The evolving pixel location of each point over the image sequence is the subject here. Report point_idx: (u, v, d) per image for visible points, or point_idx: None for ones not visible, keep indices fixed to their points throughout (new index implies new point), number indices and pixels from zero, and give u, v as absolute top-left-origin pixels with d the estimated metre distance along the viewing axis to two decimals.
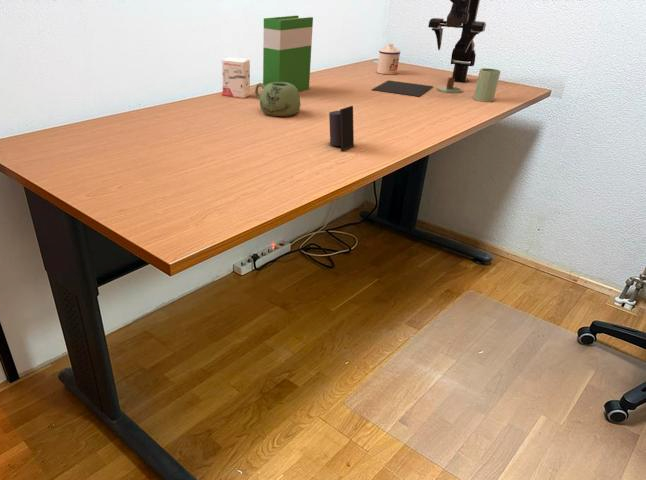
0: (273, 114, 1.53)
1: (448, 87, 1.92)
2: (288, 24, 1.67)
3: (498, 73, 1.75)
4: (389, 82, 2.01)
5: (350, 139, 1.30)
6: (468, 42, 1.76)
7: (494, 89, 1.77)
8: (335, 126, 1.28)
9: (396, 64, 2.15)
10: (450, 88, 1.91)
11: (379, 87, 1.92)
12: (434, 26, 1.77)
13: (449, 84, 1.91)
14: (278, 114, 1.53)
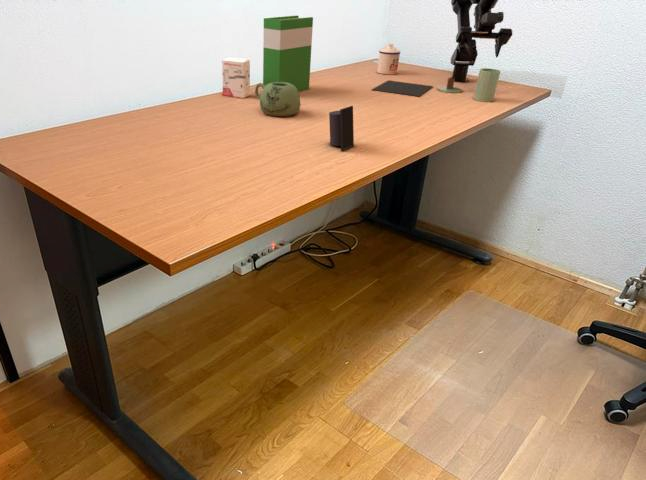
0: (273, 114, 1.53)
1: (448, 87, 1.92)
2: (288, 24, 1.67)
3: (498, 73, 1.75)
4: (389, 82, 2.01)
5: (350, 139, 1.30)
6: (500, 46, 1.81)
7: (494, 89, 1.77)
8: (335, 126, 1.28)
9: (396, 64, 2.15)
10: (450, 88, 1.91)
11: (379, 87, 1.92)
12: (467, 30, 1.80)
13: (449, 84, 1.91)
14: (278, 114, 1.53)
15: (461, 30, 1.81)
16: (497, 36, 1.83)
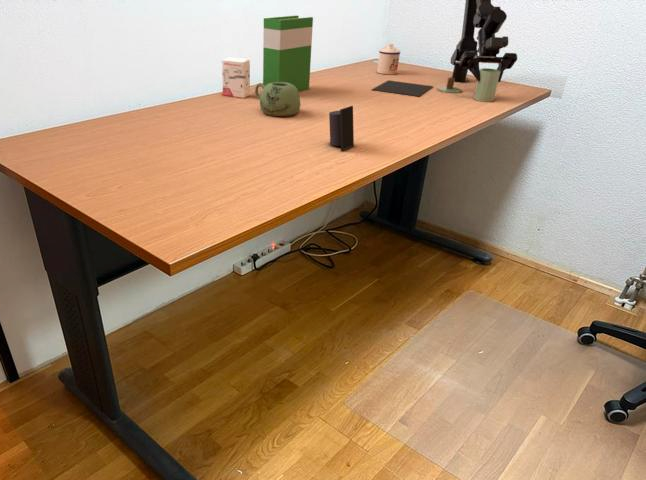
0: (273, 114, 1.53)
1: (448, 87, 1.92)
2: (288, 24, 1.67)
3: (498, 73, 1.75)
4: (389, 82, 2.01)
5: (350, 139, 1.30)
6: (502, 70, 1.77)
7: (494, 89, 1.77)
8: (335, 126, 1.28)
9: (396, 64, 2.15)
10: (450, 88, 1.91)
11: (379, 87, 1.92)
12: (471, 55, 1.76)
13: (449, 84, 1.91)
14: (278, 114, 1.53)
15: (465, 55, 1.76)
16: (499, 60, 1.79)
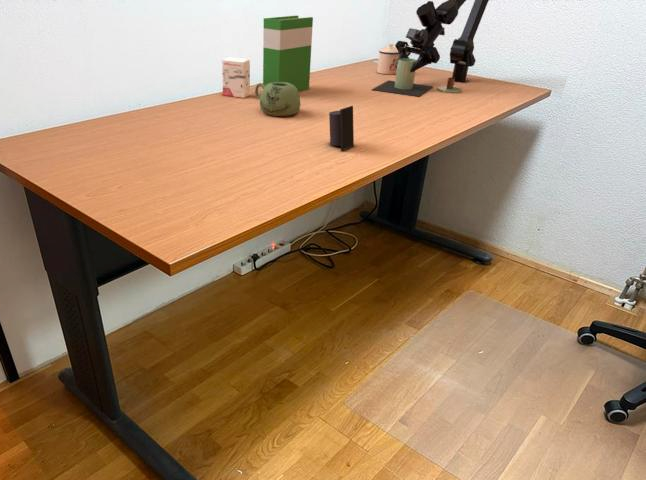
0: (273, 114, 1.53)
1: (448, 87, 1.92)
2: (288, 24, 1.67)
3: (406, 62, 1.86)
4: (389, 82, 2.01)
5: (350, 139, 1.30)
6: (416, 61, 1.85)
7: (404, 77, 1.88)
8: (335, 126, 1.28)
9: None
10: (450, 88, 1.91)
11: (379, 87, 1.92)
12: (399, 44, 1.92)
13: (449, 84, 1.91)
14: (278, 114, 1.53)
15: (396, 43, 1.93)
16: None
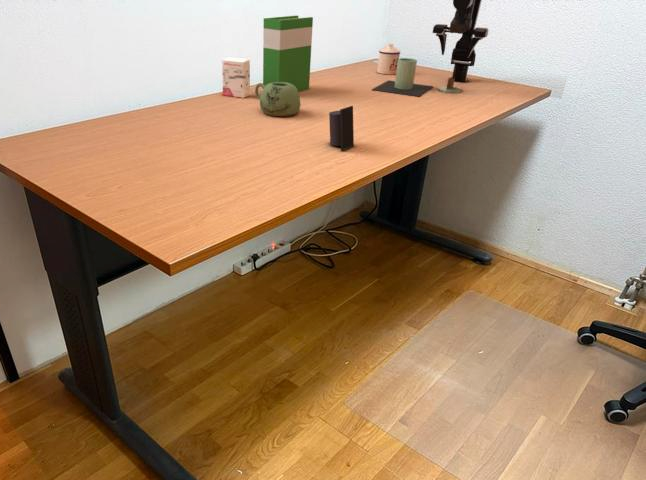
0: (273, 114, 1.53)
1: (448, 87, 1.92)
2: (288, 24, 1.67)
3: (406, 62, 1.86)
4: (389, 82, 2.01)
5: (350, 139, 1.30)
6: (471, 47, 1.82)
7: (404, 77, 1.88)
8: (335, 126, 1.28)
9: (396, 64, 2.15)
10: (450, 88, 1.91)
11: (379, 87, 1.92)
12: (438, 32, 1.83)
13: (449, 84, 1.91)
14: (278, 114, 1.53)
15: (433, 30, 1.84)
16: (473, 33, 1.80)
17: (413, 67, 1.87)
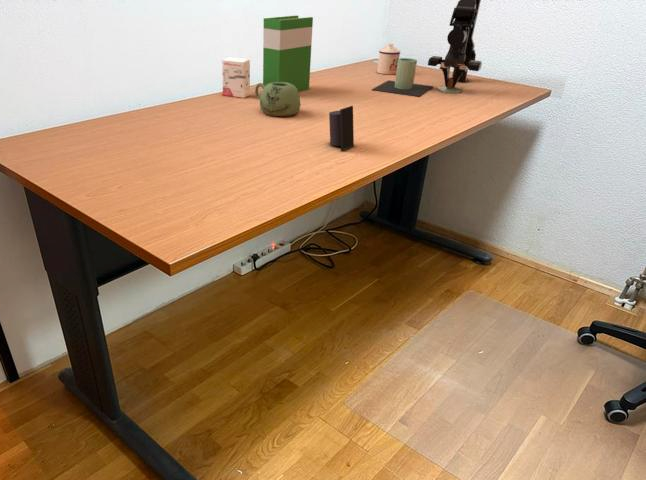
0: (273, 114, 1.53)
1: (448, 87, 1.92)
2: (288, 24, 1.67)
3: (406, 62, 1.86)
4: (389, 82, 2.01)
5: (350, 139, 1.30)
6: (456, 78, 1.89)
7: (404, 77, 1.88)
8: (335, 126, 1.28)
9: (396, 64, 2.15)
10: (450, 88, 1.91)
11: (379, 87, 1.92)
12: (433, 64, 1.89)
13: (449, 84, 1.91)
14: (278, 114, 1.53)
15: (428, 63, 1.90)
16: (458, 65, 1.87)
17: (413, 67, 1.87)
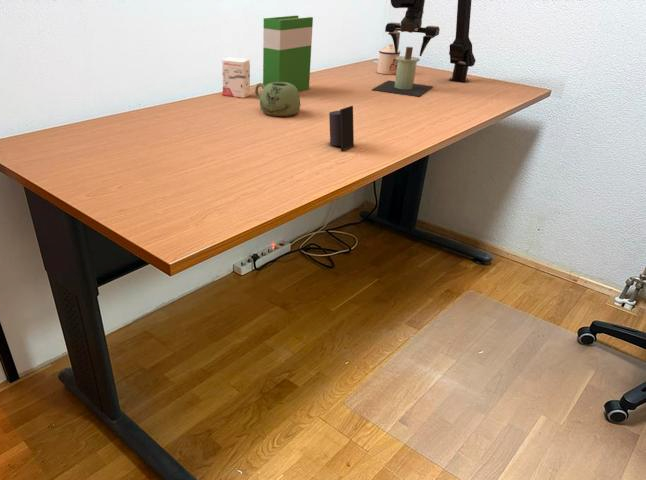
0: (273, 114, 1.53)
1: (406, 56, 1.87)
2: (288, 24, 1.67)
3: (406, 62, 1.86)
4: (389, 82, 2.01)
5: (350, 139, 1.30)
6: (423, 46, 1.82)
7: (404, 77, 1.88)
8: (335, 126, 1.28)
9: (396, 64, 2.15)
10: (408, 57, 1.86)
11: (379, 87, 1.92)
12: (390, 30, 1.83)
13: (407, 53, 1.86)
14: (278, 114, 1.53)
15: (385, 29, 1.84)
16: (424, 32, 1.81)
17: (413, 67, 1.87)
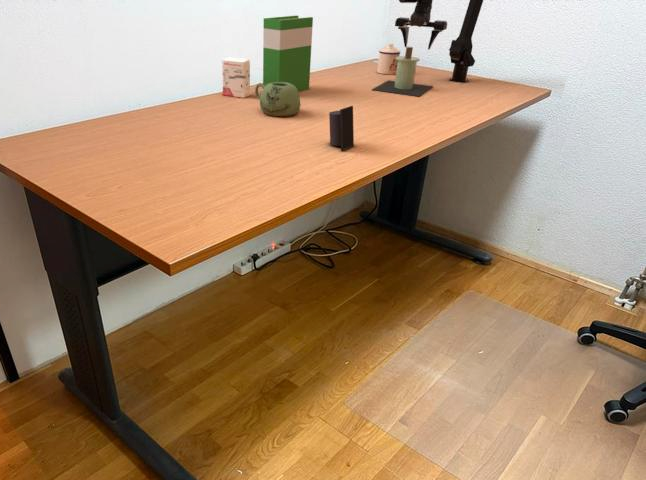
0: (273, 114, 1.53)
1: (406, 56, 1.87)
2: (288, 24, 1.67)
3: (406, 62, 1.86)
4: (389, 82, 2.01)
5: (350, 139, 1.30)
6: (431, 40, 1.90)
7: (404, 77, 1.88)
8: (335, 126, 1.28)
9: (396, 64, 2.15)
10: (408, 57, 1.86)
11: (379, 87, 1.92)
12: (400, 25, 1.91)
13: (407, 53, 1.86)
14: (278, 114, 1.53)
15: (395, 23, 1.92)
16: (433, 26, 1.89)
17: (413, 67, 1.87)
